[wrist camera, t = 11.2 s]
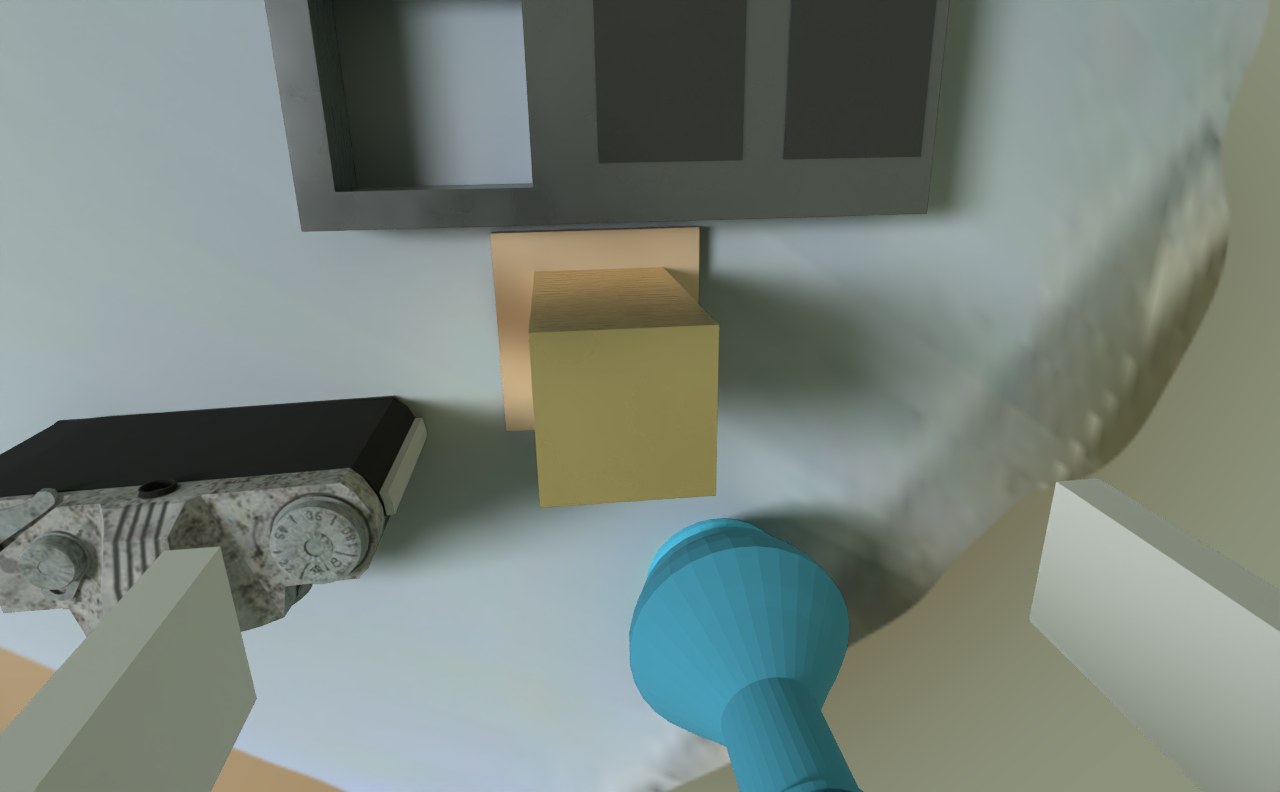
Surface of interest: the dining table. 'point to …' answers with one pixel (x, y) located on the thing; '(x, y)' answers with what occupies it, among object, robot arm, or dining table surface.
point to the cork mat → (571, 251)
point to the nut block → (622, 387)
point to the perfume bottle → (745, 653)
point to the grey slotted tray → (657, 115)
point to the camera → (203, 501)
